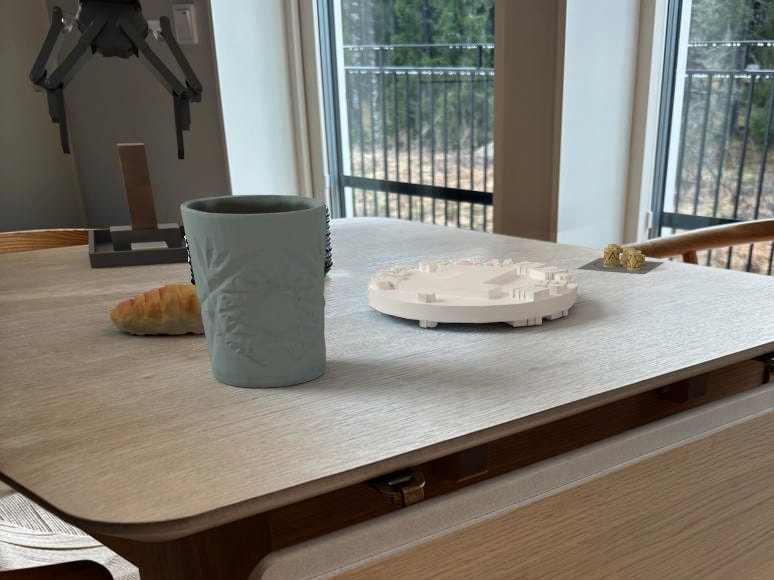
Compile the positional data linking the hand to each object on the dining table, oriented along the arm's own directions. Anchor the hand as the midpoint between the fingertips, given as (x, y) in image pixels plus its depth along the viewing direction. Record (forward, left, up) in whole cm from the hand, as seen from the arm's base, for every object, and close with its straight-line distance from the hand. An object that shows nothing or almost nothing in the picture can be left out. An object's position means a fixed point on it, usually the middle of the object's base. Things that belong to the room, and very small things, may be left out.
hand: (124, 152), depth 122 cm
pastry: (+19, -45, -11) cm, 51 cm away
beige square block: (+7, -15, -10) cm, 19 cm away
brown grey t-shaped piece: (+4, -8, -10) cm, 13 cm away
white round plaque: (+45, -36, -11) cm, 59 cm away
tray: (+4, -9, -11) cm, 15 cm away
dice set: (+61, -13, -11) cm, 64 cm away
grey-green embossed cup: (+31, -59, -11) cm, 68 cm away
